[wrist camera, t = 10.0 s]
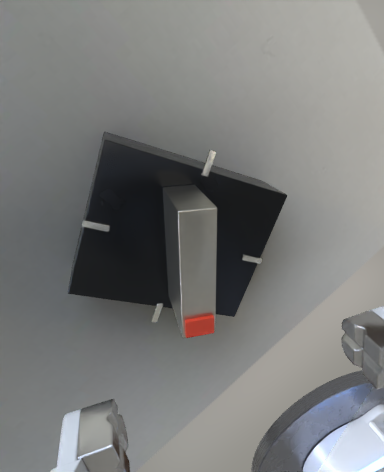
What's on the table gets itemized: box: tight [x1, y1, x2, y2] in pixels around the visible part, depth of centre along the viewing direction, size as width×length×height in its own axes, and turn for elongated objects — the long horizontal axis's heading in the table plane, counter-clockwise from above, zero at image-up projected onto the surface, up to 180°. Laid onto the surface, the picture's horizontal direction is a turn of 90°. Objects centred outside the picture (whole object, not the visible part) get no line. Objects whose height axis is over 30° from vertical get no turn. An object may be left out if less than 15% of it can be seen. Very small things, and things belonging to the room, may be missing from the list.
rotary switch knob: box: [163, 185, 217, 338], centre depth 17 cm, size 7×2×4 cm, turn 1°
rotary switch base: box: [68, 132, 287, 322], centre depth 21 cm, size 11×11×4 cm
